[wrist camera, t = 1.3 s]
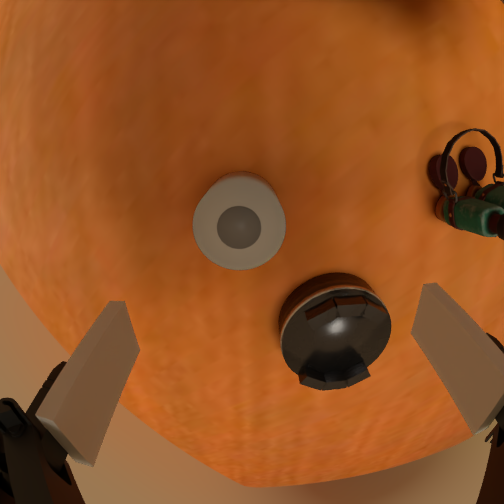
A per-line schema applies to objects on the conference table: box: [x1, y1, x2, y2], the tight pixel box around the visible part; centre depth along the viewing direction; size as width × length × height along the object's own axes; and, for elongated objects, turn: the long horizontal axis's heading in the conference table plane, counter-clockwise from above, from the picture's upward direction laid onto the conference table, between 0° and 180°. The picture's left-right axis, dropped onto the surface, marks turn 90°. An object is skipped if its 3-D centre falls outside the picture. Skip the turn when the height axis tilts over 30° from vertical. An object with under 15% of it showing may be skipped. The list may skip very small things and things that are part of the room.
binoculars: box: [429, 128, 504, 240], centre depth 20 cm, size 9×11×10 cm
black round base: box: [279, 273, 391, 391], centre depth 27 cm, size 11×11×6 cm
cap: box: [193, 171, 286, 270], centre depth 23 cm, size 6×6×6 cm
